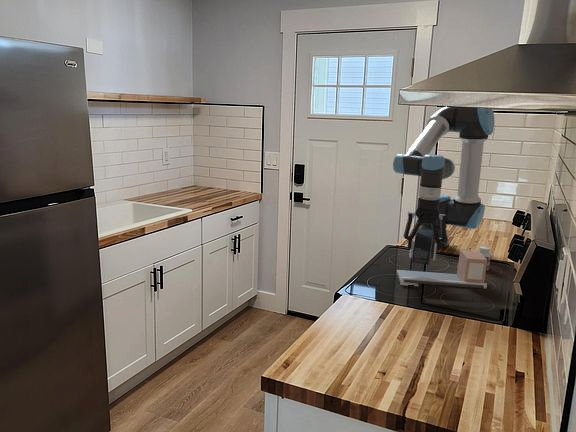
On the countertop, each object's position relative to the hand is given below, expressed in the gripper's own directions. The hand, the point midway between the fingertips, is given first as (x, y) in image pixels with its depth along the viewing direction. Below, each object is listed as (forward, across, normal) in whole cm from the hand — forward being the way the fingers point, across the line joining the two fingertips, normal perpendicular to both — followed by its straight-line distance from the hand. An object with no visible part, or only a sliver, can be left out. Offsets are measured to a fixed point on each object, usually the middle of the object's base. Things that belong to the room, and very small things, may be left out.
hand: (421, 258), depth 180 cm
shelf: (+8, +7, -1) cm, 11 cm away
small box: (+1, 0, 0) cm, 1 cm away
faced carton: (+7, +18, -1) cm, 19 cm away
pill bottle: (+8, +27, +15) cm, 32 cm away
